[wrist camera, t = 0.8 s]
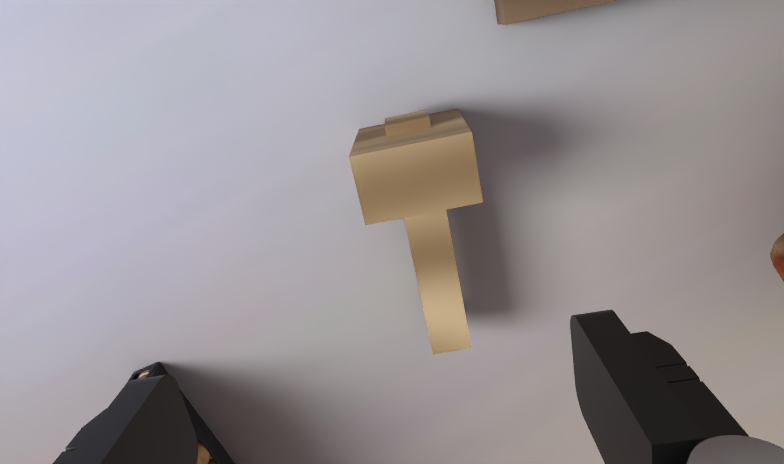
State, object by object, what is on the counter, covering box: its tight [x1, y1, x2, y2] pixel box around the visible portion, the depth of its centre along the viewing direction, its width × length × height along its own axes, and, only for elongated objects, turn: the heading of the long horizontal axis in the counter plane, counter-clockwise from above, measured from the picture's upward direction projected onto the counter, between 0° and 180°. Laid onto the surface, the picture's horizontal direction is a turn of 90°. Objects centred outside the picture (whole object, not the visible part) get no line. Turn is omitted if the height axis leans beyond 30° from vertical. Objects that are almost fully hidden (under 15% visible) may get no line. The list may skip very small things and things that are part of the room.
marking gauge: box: [349, 109, 483, 354], centre depth 27 cm, size 12×5×6 cm, turn 12°
